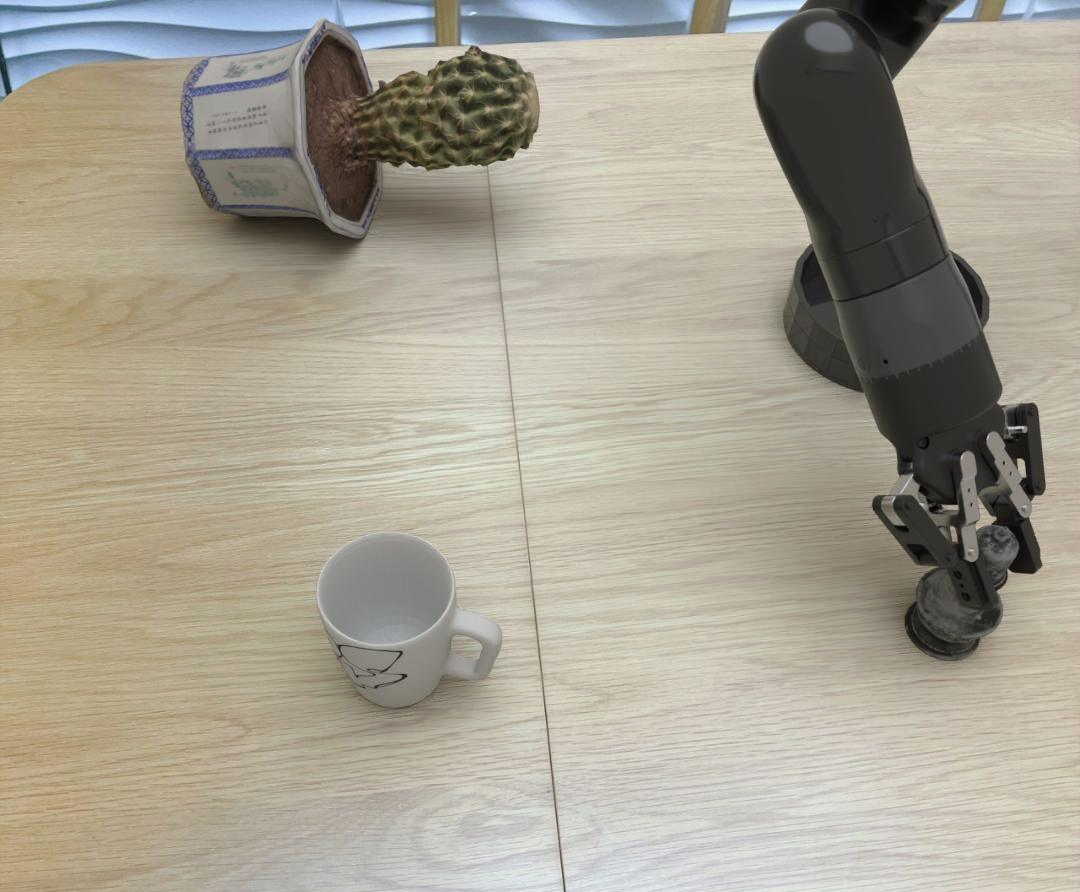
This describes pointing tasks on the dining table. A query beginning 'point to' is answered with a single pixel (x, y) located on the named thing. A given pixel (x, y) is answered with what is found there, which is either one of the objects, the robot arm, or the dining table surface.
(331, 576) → the mug
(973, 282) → the pan
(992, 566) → the grey chess piece
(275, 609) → the dining table surface
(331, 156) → the potted plant
